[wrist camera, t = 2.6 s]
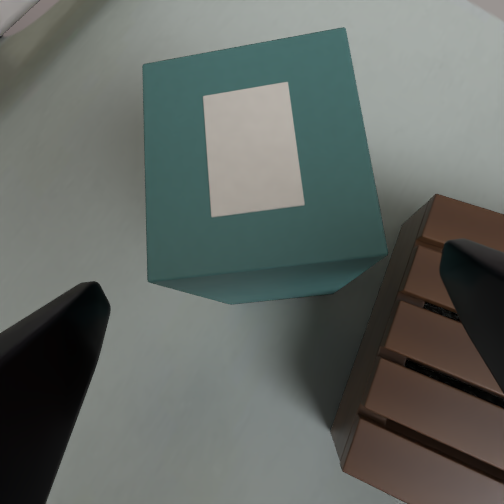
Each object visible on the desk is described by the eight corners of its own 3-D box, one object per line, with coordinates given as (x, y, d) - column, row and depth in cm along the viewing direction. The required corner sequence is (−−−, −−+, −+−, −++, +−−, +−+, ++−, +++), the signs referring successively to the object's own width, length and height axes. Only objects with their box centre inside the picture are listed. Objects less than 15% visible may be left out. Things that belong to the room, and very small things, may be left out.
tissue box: (334, 293, 18) (390, 254, 8) (229, 304, 19) (145, 282, 8) (317, 184, 20) (346, 23, 9) (220, 198, 20) (140, 61, 10)
